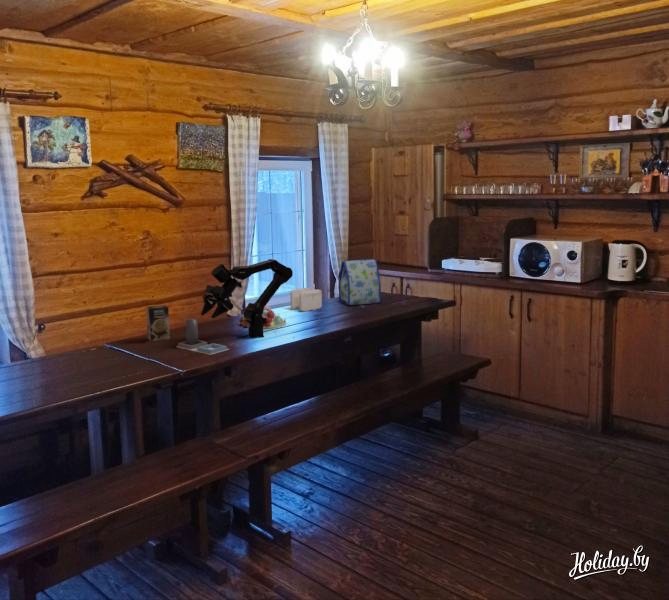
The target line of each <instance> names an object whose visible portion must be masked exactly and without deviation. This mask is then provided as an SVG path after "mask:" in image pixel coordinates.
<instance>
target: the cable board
mask: <svg viewBox="0 0 669 600" xmlns="http://www.w3.org/2000/svg"><path fill="white" fill-rule="evenodd" d="M175 347H176V348H178V349H183V350H188V351H192V352H197V353H201V354H205V355H210V356H208V357H213V355H215V354H218V353H222V352H225V351H228V350H230V348H228V347H227V345H225V344H224V345H223V344H220V343H219V344H218V343H209V344H208V341H205V340H200V339H198V344H195V345H188V344H187V340H185V341H181V342H178V343H177V346H175Z"/></svg>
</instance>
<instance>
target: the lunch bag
mask: <svg viewBox="0 0 669 600" xmlns="http://www.w3.org/2000/svg"><path fill="white" fill-rule="evenodd" d="M338 278H339V279H338V301H339V303H340V304H346V305H347V306H358V305H368V304H369V305H370V304H377V303H378V304H380V303H381V302H382V287H381V280H380V279H381V278H380V272H379V266H378V260H377V259H375V258H365V259H351V260H342V262H341V265H340V270H339V273H338Z"/></svg>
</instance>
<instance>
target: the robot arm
mask: <svg viewBox="0 0 669 600" xmlns="http://www.w3.org/2000/svg"><path fill="white" fill-rule="evenodd" d="M267 270H271V271H272V272H273V276H272V280H271V282H269V284H268V285H267V286H266V288H265V289H264V291H262V293H261V294H260V295H259V297H258V299H256V301H255V302H253V303H252V302H249V303H248V304H247V306H246V307H245V308H244V311H243V312H244V313H243V312H242V314H243V316H244V318H245V319H246V321H247V323H249V326H248V327H247V333H248V334H247V335H248V337H250V338H252V339H253V338H264V337H265V335H264V329H263V324H265V322H266V319H265V318H263V317H262V314H263V310H264V307H266V306H267V304H268V303H269V302H270V300H271V299H272V298H273V296H274V295H275V294H276V293H277V292H278V291H279V289H280V287H281V286H282V285H284V284H286V283H288V281H290V279H291V278H292V277H293V275H294V274H293V270H292V268H291V267H288V266H285V265H284V264H283V263H281V262H279V261H278V260H277V259H273V258H269V259H267V260H264V261H260V262H257V263H252V264H250V265H249V264H248V265H237V266H233V267H232V268H231V269H227V267H226V266H225V265H224V264H221V263H220V264H219V265H218V266H216V267H214V268H213V269H212V270H211V274H210V276H212V277H213V278H215V280H216V281H217V282H218V283H220V284H222V283H223V284H222V285H221V286H219V285H217V284H215V285H214V286H213V285H210V284H209V285H208V284H207V285H206V287H205V289H204V292H205V293H204V294H203V296H202V300H203V307H202V310H201V312H200V315H201V316H204V315H206V314H207V313H209V312H210V311H211V310H212V309H214V308H215V309H214V310H213V313H212V314H211V317H210V318H211V319H215V318H216V317H219V316H220V315H223V314H225V313H227V312H229V311H232V310H233V308H234V303H233V302H231V301H230V300H229V298H232V297H233V293H234V291H235V290H236V288H240V289H242V288H243V286H242V281H243V280H246V279H249V277H252V275H254V274H257V273H260V272H264V271H267ZM238 280H241V281H238ZM216 305H217V306H216ZM215 306H216V307H215Z"/></svg>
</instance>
